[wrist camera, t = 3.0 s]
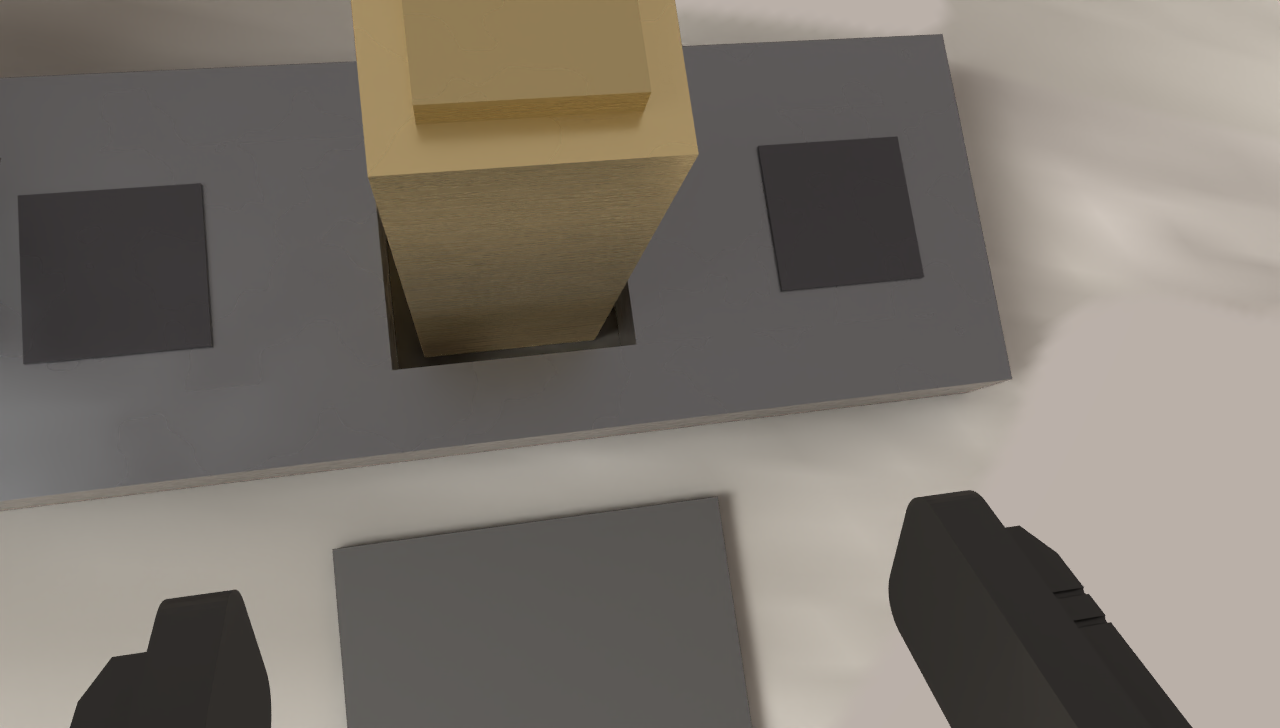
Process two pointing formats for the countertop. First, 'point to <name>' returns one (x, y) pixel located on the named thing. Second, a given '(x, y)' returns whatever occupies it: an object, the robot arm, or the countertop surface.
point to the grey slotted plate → (361, 292)
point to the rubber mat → (546, 625)
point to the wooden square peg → (520, 157)
